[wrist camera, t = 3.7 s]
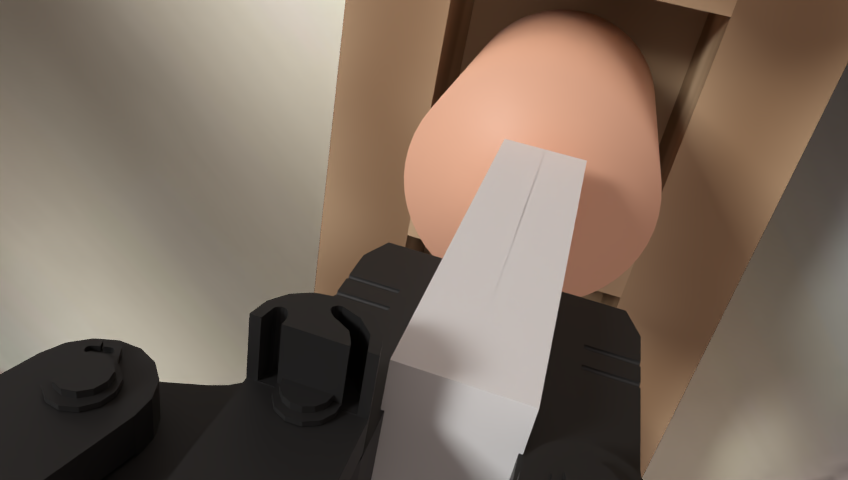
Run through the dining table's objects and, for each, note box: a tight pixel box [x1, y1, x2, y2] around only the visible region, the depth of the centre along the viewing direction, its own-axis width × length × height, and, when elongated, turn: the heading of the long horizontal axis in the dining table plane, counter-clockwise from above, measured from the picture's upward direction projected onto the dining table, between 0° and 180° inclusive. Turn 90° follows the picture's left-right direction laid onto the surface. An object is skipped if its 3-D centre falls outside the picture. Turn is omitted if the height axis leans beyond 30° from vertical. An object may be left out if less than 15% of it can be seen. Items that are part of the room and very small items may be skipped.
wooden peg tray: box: [314, 0, 848, 478], centre depth 19 cm, size 12×24×4 cm, turn 170°
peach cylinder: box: [404, 9, 662, 297], centre depth 16 cm, size 5×5×6 cm
